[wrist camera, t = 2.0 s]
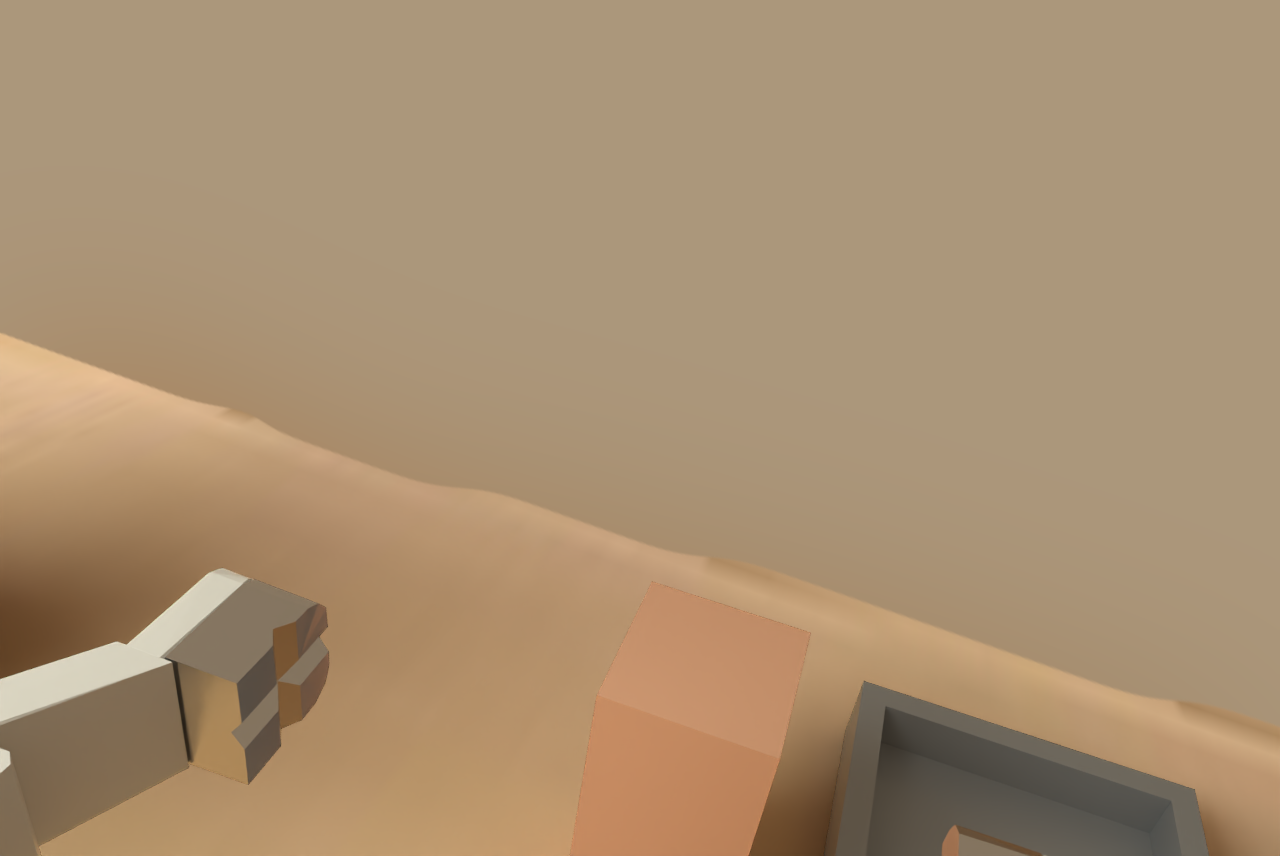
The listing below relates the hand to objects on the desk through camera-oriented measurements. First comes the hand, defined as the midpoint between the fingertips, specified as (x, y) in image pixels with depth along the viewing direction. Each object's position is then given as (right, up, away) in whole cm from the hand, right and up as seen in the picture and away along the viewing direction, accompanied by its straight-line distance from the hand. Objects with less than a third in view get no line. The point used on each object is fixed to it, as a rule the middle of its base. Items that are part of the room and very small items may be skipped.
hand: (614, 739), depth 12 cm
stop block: (+1, -13, +22) cm, 25 cm away
